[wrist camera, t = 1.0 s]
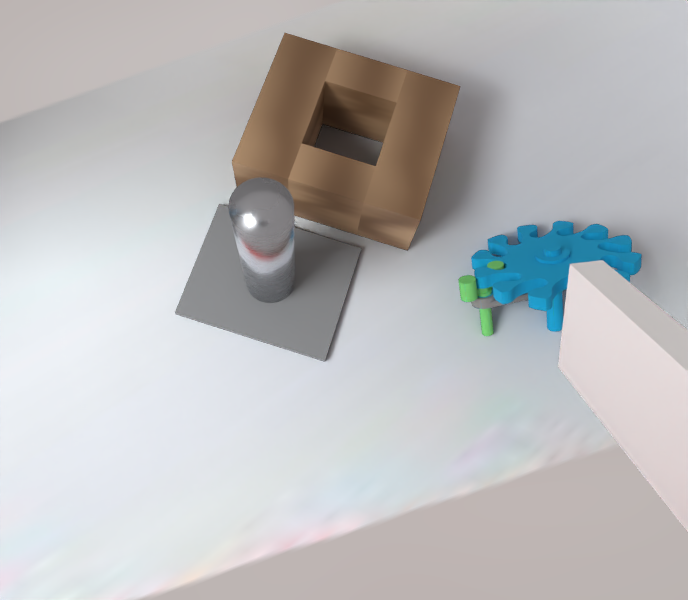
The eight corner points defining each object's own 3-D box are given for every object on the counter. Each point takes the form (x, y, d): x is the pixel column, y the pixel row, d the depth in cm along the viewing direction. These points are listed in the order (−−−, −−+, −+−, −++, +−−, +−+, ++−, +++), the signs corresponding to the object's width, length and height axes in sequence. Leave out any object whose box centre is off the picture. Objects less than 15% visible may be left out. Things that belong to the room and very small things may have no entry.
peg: (238, 294, 42) (219, 225, 31) (255, 250, 43) (241, 169, 32) (286, 309, 42) (281, 245, 31) (301, 265, 43) (302, 188, 32)
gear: (596, 201, 44) (676, 264, 35) (596, 276, 47) (670, 352, 38) (437, 237, 44) (478, 308, 36) (447, 310, 47) (487, 393, 38)
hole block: (239, 198, 44) (231, 161, 39) (286, 79, 47) (284, 32, 42) (407, 250, 44) (420, 220, 39) (443, 128, 47) (460, 86, 42)
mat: (176, 314, 42) (174, 312, 41) (219, 206, 44) (219, 203, 44) (324, 361, 41) (325, 360, 41) (360, 250, 44) (361, 248, 43)
